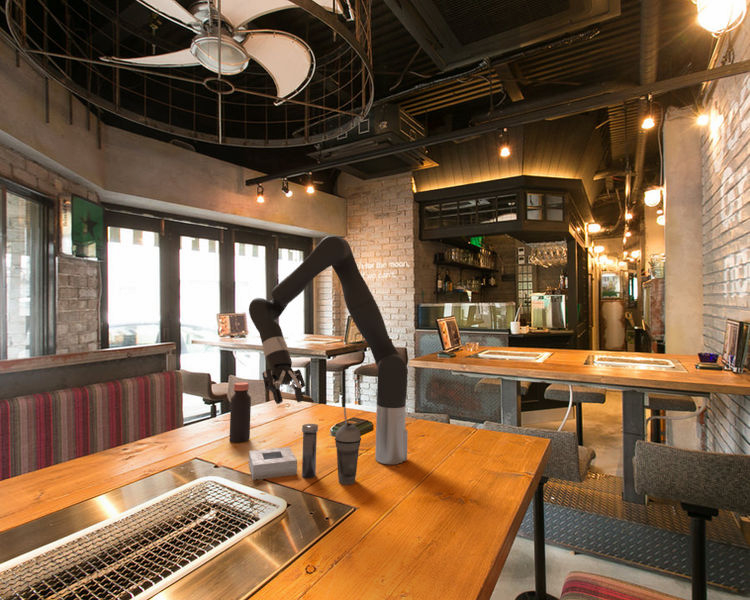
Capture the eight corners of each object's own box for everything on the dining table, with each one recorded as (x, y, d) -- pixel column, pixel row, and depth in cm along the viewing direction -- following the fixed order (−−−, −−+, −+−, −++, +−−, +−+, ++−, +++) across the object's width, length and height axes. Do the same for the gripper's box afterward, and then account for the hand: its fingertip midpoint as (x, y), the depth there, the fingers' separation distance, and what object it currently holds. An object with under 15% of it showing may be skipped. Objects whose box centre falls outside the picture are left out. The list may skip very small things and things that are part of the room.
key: (314, 471, 117) (315, 423, 117) (318, 477, 113) (319, 427, 113) (299, 473, 115) (300, 424, 115) (302, 480, 111) (304, 428, 111)
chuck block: (288, 459, 126) (289, 446, 126) (296, 474, 114) (297, 460, 115) (248, 464, 121) (249, 450, 121) (252, 480, 110) (253, 465, 110)
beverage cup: (356, 488, 106) (358, 412, 107) (330, 485, 108) (332, 410, 108) (362, 477, 114) (364, 406, 114) (338, 474, 115) (339, 404, 116)
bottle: (253, 439, 144) (255, 383, 144) (238, 444, 138) (240, 386, 139) (241, 435, 147) (242, 381, 148) (225, 440, 142) (227, 383, 142)
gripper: (266, 347, 121) (280, 398, 115) (300, 349, 133) (315, 396, 126) (251, 358, 125) (264, 408, 118) (285, 360, 136) (299, 405, 130)
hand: (290, 402), depth 122 cm, fingers open, 8 cm apart
